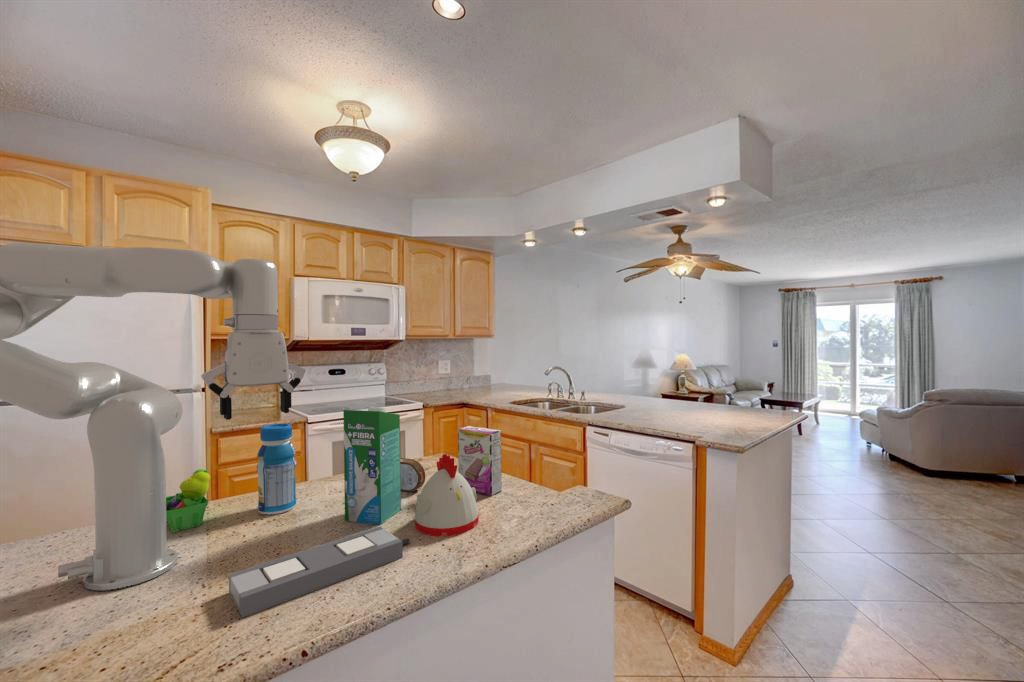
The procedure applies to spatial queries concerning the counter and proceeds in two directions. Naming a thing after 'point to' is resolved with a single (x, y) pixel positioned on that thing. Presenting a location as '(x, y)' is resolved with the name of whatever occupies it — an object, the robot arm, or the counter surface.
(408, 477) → the tin
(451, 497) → the kitchen timer
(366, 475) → the milk carton
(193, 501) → the fruit basket
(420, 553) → the counter surface
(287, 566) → the outlet button
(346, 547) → the outlet button
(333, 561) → the power strip
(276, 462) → the beverage bottle
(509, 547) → the counter surface
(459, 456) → the candy bar box
